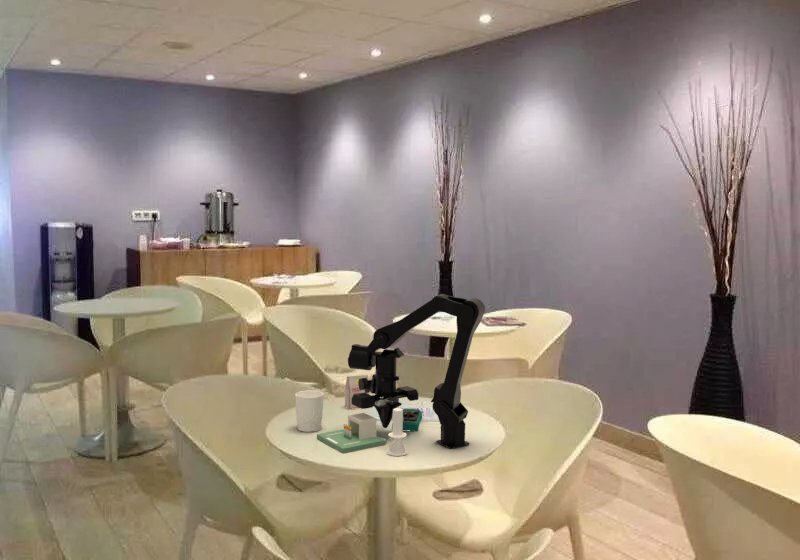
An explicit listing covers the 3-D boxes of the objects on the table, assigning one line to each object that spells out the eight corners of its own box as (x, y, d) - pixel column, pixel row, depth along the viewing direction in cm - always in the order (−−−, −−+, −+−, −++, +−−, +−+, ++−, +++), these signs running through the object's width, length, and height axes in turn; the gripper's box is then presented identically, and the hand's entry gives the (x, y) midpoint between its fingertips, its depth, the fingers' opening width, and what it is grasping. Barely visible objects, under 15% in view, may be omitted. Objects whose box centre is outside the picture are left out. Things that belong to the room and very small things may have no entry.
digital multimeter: (422, 418, 223) (422, 408, 223) (417, 433, 209) (417, 422, 208) (398, 417, 224) (398, 407, 224) (391, 432, 210) (391, 421, 209)
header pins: (352, 439, 197) (352, 427, 197) (349, 439, 197) (349, 427, 196) (345, 435, 200) (345, 424, 200) (343, 436, 200) (343, 424, 199)
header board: (385, 444, 197) (385, 439, 197) (342, 453, 190) (342, 448, 190) (357, 430, 209) (358, 426, 208) (316, 438, 201) (316, 433, 201)
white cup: (329, 427, 211) (329, 392, 210) (312, 434, 205) (312, 398, 204) (306, 422, 215) (307, 388, 214) (289, 429, 209) (289, 394, 208)
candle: (386, 449, 193) (386, 404, 192) (406, 449, 194) (407, 404, 192) (387, 456, 188) (388, 409, 187) (408, 456, 188) (409, 409, 187)
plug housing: (376, 436, 200) (376, 418, 199) (360, 439, 197) (360, 421, 196) (363, 430, 205) (363, 412, 204) (347, 433, 202) (348, 415, 202)
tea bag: (345, 406, 233) (345, 375, 232) (365, 404, 236) (365, 373, 235) (348, 409, 230) (348, 377, 229) (369, 407, 232) (369, 376, 231)
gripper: (397, 362, 215) (396, 415, 217) (341, 370, 205) (340, 425, 206) (420, 370, 206) (419, 425, 208) (362, 378, 196) (362, 436, 197)
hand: (385, 427), depth 205 cm, fingers closed
